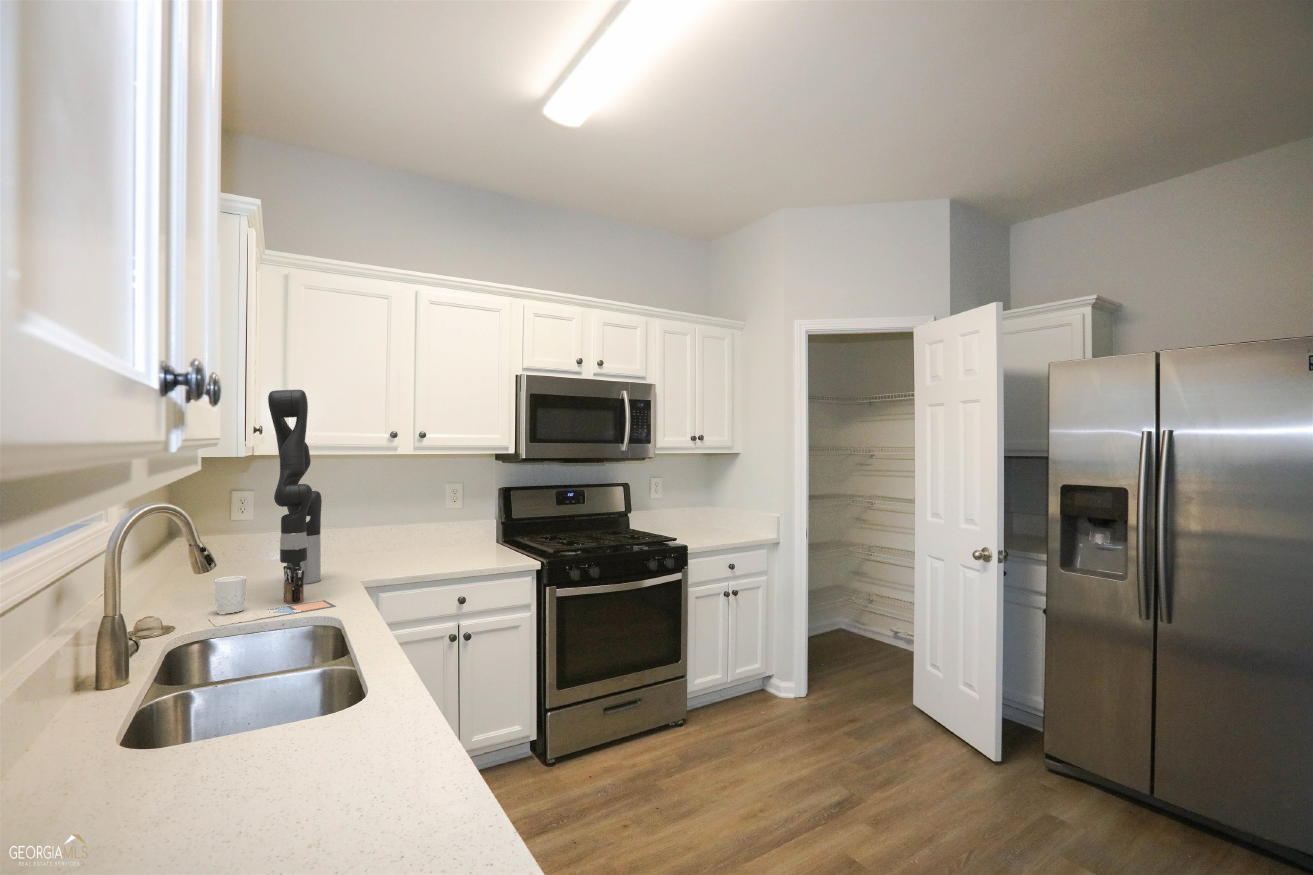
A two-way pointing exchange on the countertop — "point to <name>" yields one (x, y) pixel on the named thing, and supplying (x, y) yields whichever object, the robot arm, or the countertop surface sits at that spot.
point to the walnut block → (289, 593)
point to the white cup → (230, 594)
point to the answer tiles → (304, 607)
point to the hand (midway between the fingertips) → (293, 599)
